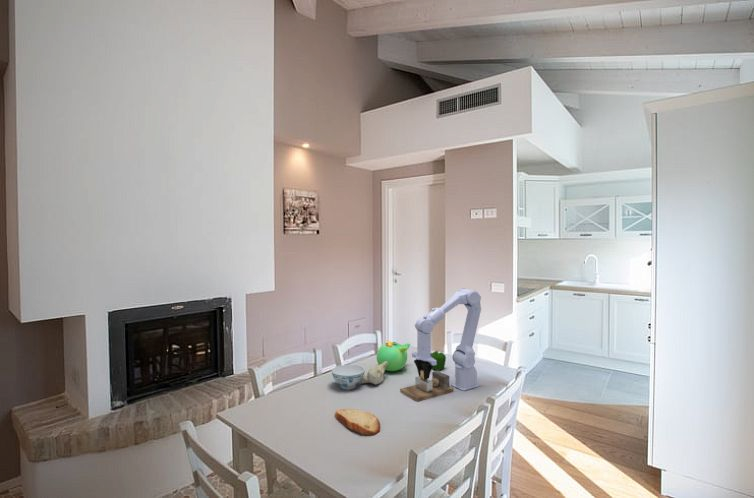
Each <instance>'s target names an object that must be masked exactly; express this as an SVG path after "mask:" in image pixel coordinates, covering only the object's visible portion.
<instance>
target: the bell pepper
mask: <svg viewBox="0 0 754 498" xmlns="http://www.w3.org/2000/svg"><path fill="white" fill-rule="evenodd" d="M431 357H432V358H434V359H435V360H437V365H434V366H433V367H432V370H433V371H441V370H443V369H444V368H445V366H446V358H447V357H446V355H445V353H443V352H439V350H435V351H433V352H431Z"/></svg>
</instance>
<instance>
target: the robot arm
mask: <svg viewBox="0 0 754 498" xmlns="http://www.w3.org/2000/svg"><path fill="white" fill-rule="evenodd" d="M481 299H482V296H481V295H480V294H479V292H478V291H477V290H472V289H467V288H463V287H462V288H460V289H458V290H457V291H455V292H454V293H453V296H451V297H450V298H449V299H448V300H447V301H446V302H444V304H443V305H441V306H439V307H432V308H431V311H429V312H428V313H427V314H426V315H425V314H424V315H423V317H420V318H418V319H417V320H416V322H415V323H414V328H415V329H416V333H417V335H416V337H417V339H416V341H417V343H416V344H417V347H416V348H417V350H416V351H417V352H416V351H414V352H412V353H411V357H412V358H415V360H413V362H414V365H415V367H416V370H417V373H418V374H417V375H418V376H419V377H420V370H421V369H423V372H424V379H428V380H430V379H429V378H430V376H431V375H430V374H431V373H432V370H433V368H432V367H433V366H434V365H437V360H435V359H434V358H432V357H431V353H432V352H431V350H432V349H431V344H432V343H431V341H432V340H431V336H432V335H431V332H433V330H434V327H435V326H436V325H438V323H440V321H442V320H443V319H444V318H445V316H446V315H445V314H447V313H448V312H450V311H451V310H453V309H454V308H455V307H458V305H464V306H465V308H466V309H467V312H466V313H467V314H466V319H465V322H464V327H463V331H462V335H461V339H460V343H459V344H458V345H457V346H456V347H455V350H454V351H453V353H452V357H451V358H452V361H453V362H454V366H455V367H454V368H455V370H454V371H455V375H454V377H455V378H454V381H455V382H454V383H451V386H452V387H453V388H454V387H455V388H457V389H459V390H461V391H462V392H463V391H467V390H471V389H475V388H478V387H479V385H478V371H477V369H476V366H475V365H476V364H475V363H476V358H475V357H476V356H475V354H476V351H474V348H473V345H474V342H475V337H476V334H477V329H478V325H479V320H480V317H481V313H482V305H481Z"/></svg>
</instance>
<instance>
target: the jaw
mask: <svg viewBox="0 0 754 498" xmlns="http://www.w3.org/2000/svg"><path fill="white" fill-rule="evenodd" d="M431 380H432V379H431ZM431 380H430V379H424V372H423V369H421V370H420V377H419V375H418V376H415V381H414V383H415V384H414V385H415V386H416V387H418V388H420V389H422V390H424V391H426V392H430V391H433V381H431Z"/></svg>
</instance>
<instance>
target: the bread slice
mask: <svg viewBox="0 0 754 498" xmlns="http://www.w3.org/2000/svg"><path fill="white" fill-rule="evenodd" d="M334 418H335V419H336V420H337V421H338V422H339V423H340V424H342V425H343V427H346V428H347V429H349V430H351V431H353V432H355V433H358V434H361V435H363V436H369V437H370V435H371V436H376V435H377V434H379V433H380V432H381V423H380V420H379V418H378V417H377V416H376V415H375V414H373V413H371V412H368V411H365V410H364V411H363V410H359V409H353V408H340V409H336V410H335V413H334Z"/></svg>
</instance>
